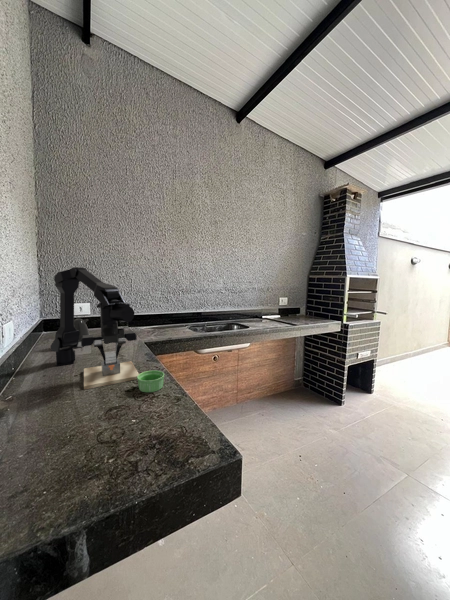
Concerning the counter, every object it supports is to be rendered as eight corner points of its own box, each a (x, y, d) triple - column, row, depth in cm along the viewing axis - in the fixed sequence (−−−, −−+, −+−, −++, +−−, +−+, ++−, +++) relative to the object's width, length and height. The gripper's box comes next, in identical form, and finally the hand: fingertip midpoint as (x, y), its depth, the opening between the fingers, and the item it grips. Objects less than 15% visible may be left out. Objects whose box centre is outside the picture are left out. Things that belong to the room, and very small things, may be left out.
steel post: (105, 374, 90) (105, 354, 89) (105, 370, 93) (104, 352, 92) (116, 372, 92) (116, 353, 91) (115, 369, 95) (114, 350, 94)
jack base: (84, 389, 80) (83, 375, 80) (84, 371, 96) (83, 359, 95) (139, 378, 89) (139, 365, 89) (131, 363, 105) (131, 352, 104)
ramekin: (131, 390, 80) (131, 378, 80) (149, 380, 88) (149, 368, 88) (153, 395, 77) (153, 382, 76) (169, 384, 85) (169, 372, 85)
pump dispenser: (94, 345, 132) (93, 318, 131) (74, 349, 124) (72, 321, 122) (84, 342, 138) (83, 316, 136) (64, 346, 129) (63, 319, 128)
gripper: (80, 325, 79) (82, 371, 80) (139, 321, 88) (139, 362, 90) (80, 320, 88) (82, 361, 90) (133, 316, 98) (134, 354, 99)
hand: (110, 359), depth 92 cm, fingers closed on steel post, 4 cm apart
